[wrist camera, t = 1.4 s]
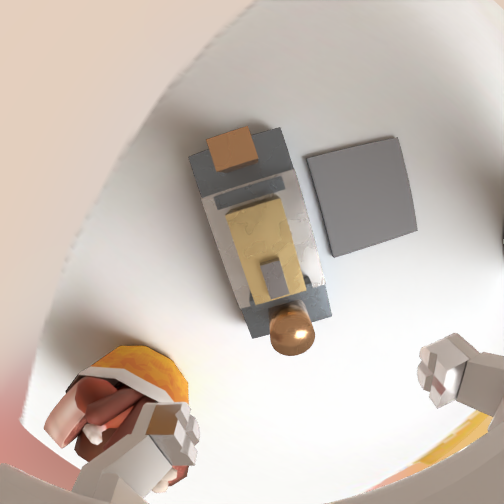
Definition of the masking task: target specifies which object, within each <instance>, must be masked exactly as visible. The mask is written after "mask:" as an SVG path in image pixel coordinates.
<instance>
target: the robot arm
mask: <svg viewBox="0 0 504 504" xmlns="http://www.w3.org/2000/svg"><path fill="white" fill-rule="evenodd" d="M503 242H504V241H503ZM419 357H420V359H421V360H422V361H421V363H420V364H419V366H418V370H417V376H418V381H419V383H420V385H421V387H422V388H423V390H426V391H429V392H430V394H429V398H430V399H431V401H432V402H433V403H434V405H435V406H436V408H437V409H438V408H440V407H442V406H444V405H446V404H448V403H450V402H452V401H454V400H456V401H458V402H460V403H463V404H465V405H467V406H469V407H471V408H474V409H476V410H478V411H480V412H483V413H485V414H487V415H490V416H492V417H493V419H492V421H491V423H490V425H489V427H488V433H486V434H485V435H483V436H482V437H480V438H479V439H477V440H476V441H475V442H473V443H471V444H470V445H468V446H466V447H465V448H463V449H461V450H460V451H458V452H456V453H454V454H453V455H451V456H449V457H448V458H445V459H444V460H442V461H440V462H438V463H436V464H434V465H432V466H430V467H428V468H426V469H424V470H422V471H419V472H417V473H415V474H413V475H411V476H409V477H406V478H404V479H401V480H399V481H396V482H394V483H391V484H389V485H386V486H383V487H380V488H378V489H375V490H372V491H369V492H366V493H362V494H359V495H356V496H352V497H349V498H345V499H342V500H338V501H334V502H330V503H325V504H504V356H500V355H495V354H490V353H486V352H483V353H479V352H478V351H477V350H476V349H475V348H474V347H473V346H472V345H470V344H469V343H468V342H467V341H466V340H465V339H463V338H462V337H461V336H460V335H459V334H457V333H453V334H451V335H449V336H447V337H445V338H443V339H440V340H438V341H436V342H434V343H431V344H429V345H427V346H424V347H422V348H421V350H420V355H419ZM190 411H191V409H190V407H189V405H188V403H186V402H159V403H146V404H144V405H143V407H142V410H141V412H140V414H139V417H138V419H137V422H136V424H135V426H134V429H133V431H132V434H127V435H126V436H125V437H123V438H122V439H121V440H119V441H118V442H116V443H115V444H114V445H112V446H111V447H110V448H108V449H107V450H105V451H104V452H103V453H101V454H100V455H98V456H97V457H96V458H94V459H93V460H91V461H90V462H88V463H87V464H85V465H84V466H83V467H82V469H81V471H80V473H79V476H78V478H77V480H76V482H75V484H74V486H73V489H72V491H69V490H66V489H63V488H60V487H58V486H55V485H53V484H50V483H48V482H45V481H43V480H40V479H38V478H36V477H33V476H31V475H29V474H27V473H25V472H23V471H21V470H19V469H17V468H15V467H13V466H11V465H9V464H6V463H2V464H0V504H149V503H148V502H147V501H145V500H144V499H143V498H144V497H145V496H146V495H147V494H148V493H149V492H150V491H151V490H152V489H153V488H154V487H155V486H156V485H157V483H158V482H159V481H160V480H161V479H162V478H163V477H164V476H165V475H166V473H167V472H168V471H169V470H170V469H171V468H172V466H191V465H195V462H196V457H197V450H196V448H195V445H196V444H197V443H198V442H199V438H200V430H199V425H198V422H197V420H196V418H195V417H193V416H192V415H190Z"/></svg>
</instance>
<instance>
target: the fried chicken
mask: <svg viewBox="0 0 504 504" xmlns="http://www.w3.org/2000/svg"><path fill="white" fill-rule="evenodd" d="M159 402H186V403H188V405H189V402H188V382H187V381H186V379H185V378H184V377H183V375H182V374H181V372H180V371H179V369H178V368H177V367H176V365H175V364H174V362H173V361H172V360H171V359H169V358H167V357H165V356H163V355H162V354H160V353H158V352H156V351H154V350H152V349H150V348H149V347H147V346H119V347H117V348H116V349H115V350H113V351H112V352H110V353H109V354H107V355H106V356H104V357H103V358H102V359H100V360H99V361H97V362H96V363H94V364H93V365H91V366H90V367H89V368H87V369H86V370H83V371H81V372H80V373H79V374H78V375H77V376H76V377H75V379H74V380H73V381H72V383H71V384H70V386H69V387H68V388H67V390H66V395H65V396H64V397H63V398H62V399H61V400H60V401H59V403H58V404H57V405H56V406H55V408H54V409H53V410H52V412H51V413H50V415H49V417H48V418H47V420H46V422H45V425H44V430H45V431H46V432H47V433H48V434H49V435H50V436H51V438H52V439H53V440H54V441H55V442H56V443H57V444H58V445H59V446H60V447H61V448H64V447H65V446H67V445H68V444H69V443H71V442H72V441H73V440H74V439H75V438H76V437H77V436H78V437H77V441H76V445H75V449H74V450H75V451H76V453H77V454H78V455H79V456H80V457H82V458H83V459H85V460H86V461H88V462H90V461H91V460H93V459H94V458H96V457H97V456H98V455H100V454H101V453H103V452H104V451H105V450H107V449H108V448H110V447H111V446H112V445H114V444H115V443H116V442H118V441H119V440H121V439H122V438H123V437H125V436H126V435H127V434H132V431H133V429H134V426H135V424H136V422H137V419H138V417H139V414H140V412H141V410H142V407H143V405H144V404H146V403H159ZM188 467H189V466H172V468H171V469H170V470H169V471H168V472H167V473H166V475H165V476H164V477H163V478H162V479H161V480H160V481H159V482H158V483H157V485H156V486H155V487H154V488H153V489H152V491H153V492H155V493H162V492H166V490H167V488H168V486H172V485H174V484H175V483H177V482H179V481H180V480H182V479H183V478H185V477H187V473H188Z"/></svg>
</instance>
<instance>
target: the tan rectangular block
mask: <svg viewBox="0 0 504 504" xmlns="http://www.w3.org/2000/svg"><path fill="white" fill-rule="evenodd" d="M225 217H226V220H227V223H228V226H229V229H230V232H231V235H232V238H233V241H234V244H235V247H236V250H237V253H238V256H239V259H240V261H241V264H242V267H243V270H244V273H245V276H246V279H247V282H248V285H249V288H250V291H251V293H252V296H253V299H254V302H255V305H258V304H262V303H265V302H269V301H272V300H276V299H279V298H283V297H286V296H289V295H293V294H296V293H300V292H303V291H306V286H305V283H304V279H303V275H302V271H301V268H300V264H299V260H298V257H297V253H296V250H295V246H294V243H293V239H292V236H291V232H290V229H289V225H288V222H287V218H286V215H285V212H284V208H283V205H282V202H281V198H280V197H279V196H278V195H274V196H271V197H268V198H264V199H261V200H258V201H255V202H251V203H248V204H245V205H242V206H239V207H235V208H232V209H230V210H229V211H228V212H227V213H226V215H225Z"/></svg>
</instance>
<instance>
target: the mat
mask: <svg viewBox="0 0 504 504" xmlns="http://www.w3.org/2000/svg"><path fill="white" fill-rule="evenodd" d="M306 159H307V163H308V166H309V169H310V172H311V176H312V179H313V183H314V186H315V190H316V193H317V197H318V200H319V204H320V208H321V211H322V215H323V219H324V223H325V227H326V231H327V235H328V239H329V243H330V247H331V251H332V256H333V257H334V258H335V257H338V256H342V255H345V254H348V253H351V252H354V251H357V250H360V249H363V248H367V247H370V246H373V245H376V244H379V243H382V242H385V241H388V240H391V239H394V238H397V237H400V236H403V235H406V234H409V233H412V232H415V231H418V230H417V224H416V217H415V211H414V205H413V200H412V195H411V190H410V185H409V180H408V176H407V171H406V167H405V163H404V159H403V155H402V151H401V147H400V144H399V140H398V137H397V138H392V139H387V140H382V141H377V142H373V143H368V144H363V145H359V146H355V147H350V148H346V149H342V150H338V151H333V152H329V153H325V154H321V155H318V156H314V157H310V158H306Z"/></svg>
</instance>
